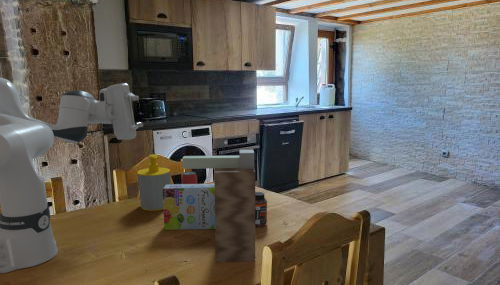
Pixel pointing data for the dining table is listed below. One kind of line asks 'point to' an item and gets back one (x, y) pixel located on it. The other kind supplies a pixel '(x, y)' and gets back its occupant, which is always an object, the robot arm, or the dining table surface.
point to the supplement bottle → (260, 209)
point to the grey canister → (152, 185)
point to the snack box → (189, 206)
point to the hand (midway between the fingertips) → (139, 111)
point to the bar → (220, 161)
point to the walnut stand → (235, 214)
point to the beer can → (189, 177)
